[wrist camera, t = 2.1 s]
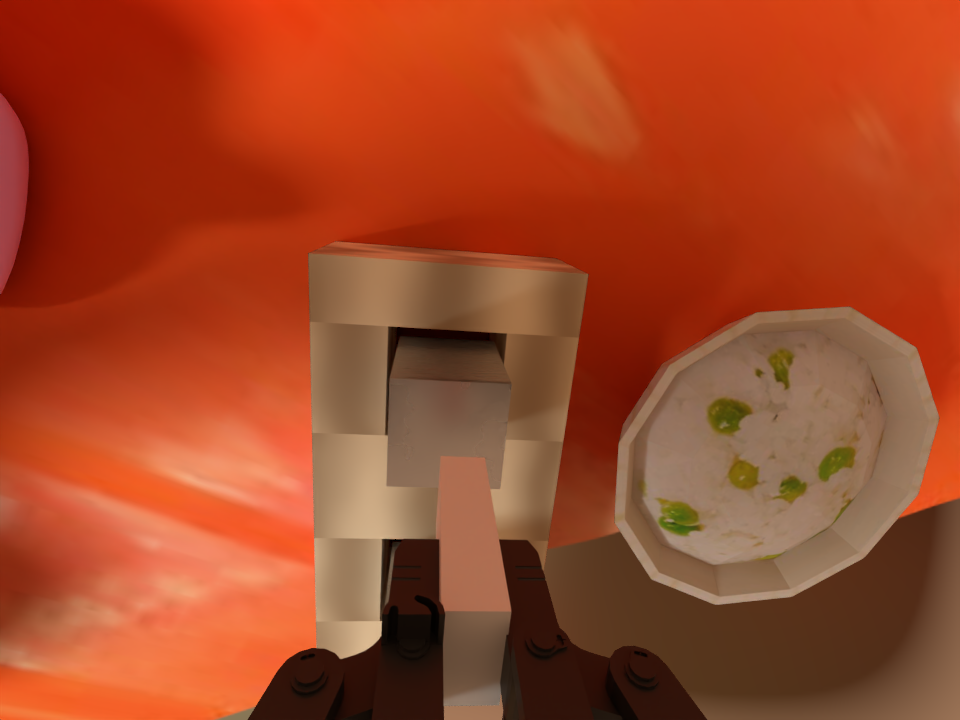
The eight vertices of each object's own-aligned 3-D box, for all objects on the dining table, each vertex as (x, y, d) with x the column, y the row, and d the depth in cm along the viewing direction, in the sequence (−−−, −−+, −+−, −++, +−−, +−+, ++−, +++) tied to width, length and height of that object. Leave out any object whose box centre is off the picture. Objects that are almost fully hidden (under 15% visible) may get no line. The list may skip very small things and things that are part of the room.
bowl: (762, 533, 41) (862, 634, 31) (539, 500, 38) (575, 602, 28) (866, 307, 35) (1026, 348, 26) (614, 249, 32) (690, 270, 23)
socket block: (337, 582, 38) (317, 663, 32) (335, 241, 30) (308, 253, 24) (514, 583, 40) (530, 659, 33) (556, 258, 32) (588, 274, 25)
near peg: (396, 422, 28) (386, 486, 21) (400, 335, 26) (389, 378, 20) (485, 425, 28) (500, 488, 22) (493, 341, 27) (511, 384, 20)
